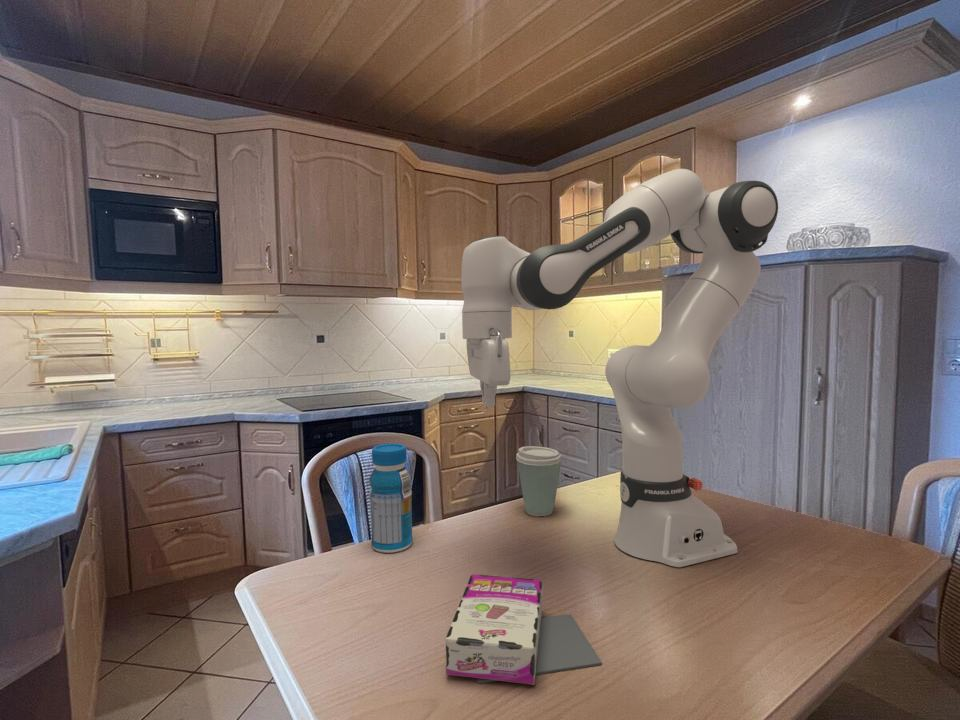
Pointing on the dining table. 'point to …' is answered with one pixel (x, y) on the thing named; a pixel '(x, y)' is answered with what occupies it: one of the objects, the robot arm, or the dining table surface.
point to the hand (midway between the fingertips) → (488, 405)
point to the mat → (561, 647)
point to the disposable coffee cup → (539, 478)
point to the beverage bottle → (390, 499)
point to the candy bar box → (496, 630)
